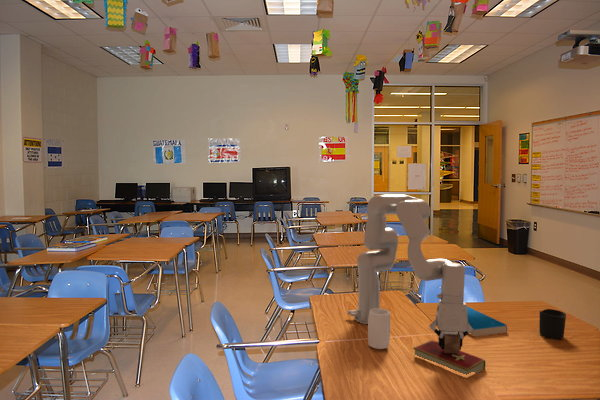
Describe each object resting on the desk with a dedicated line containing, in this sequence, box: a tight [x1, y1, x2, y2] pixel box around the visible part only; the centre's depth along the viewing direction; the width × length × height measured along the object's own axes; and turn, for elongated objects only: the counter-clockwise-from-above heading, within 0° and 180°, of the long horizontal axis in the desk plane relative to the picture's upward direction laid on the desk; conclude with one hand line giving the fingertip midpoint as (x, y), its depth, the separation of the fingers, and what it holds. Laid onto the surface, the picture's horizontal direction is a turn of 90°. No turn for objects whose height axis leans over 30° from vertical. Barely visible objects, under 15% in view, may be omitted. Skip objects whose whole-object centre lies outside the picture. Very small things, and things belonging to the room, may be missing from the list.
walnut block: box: [443, 331, 461, 353], centre depth 147 cm, size 5×5×6 cm
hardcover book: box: [412, 339, 486, 375], centre depth 147 cm, size 12×21×4 cm, turn 39°
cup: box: [367, 307, 391, 350], centre depth 159 cm, size 8×8×14 cm
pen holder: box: [538, 308, 567, 341], centre depth 173 cm, size 9×9×10 cm
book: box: [466, 305, 508, 337], centre depth 185 cm, size 17×4×25 cm
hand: (450, 347), depth 148 cm, fingers open, 5 cm apart
